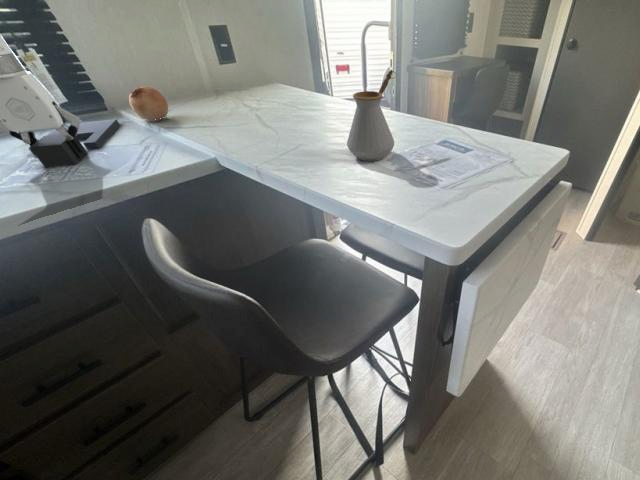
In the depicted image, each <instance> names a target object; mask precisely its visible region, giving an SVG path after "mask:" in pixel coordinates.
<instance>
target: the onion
mask: <svg viewBox="0 0 640 480" xmlns="http://www.w3.org/2000/svg"><path fill="white" fill-rule="evenodd" d="M128 102H129V106H130V107H131V109H132V111H133V112H134V113H135V115H137V116H138V117H140V118H141V119H143V120H145V119H146V120H145V121H148V122H150V123H156V122H160V121H162V120H164V119H165V118H166V117H167V116H168V111H169V104H168V102H167V100H166V97H165V96H164V95H163V94H162V93H161V92H160V91H159V90H157V89H156V88H154V87H151V86H146V85H145V86H137V87H135V88H134V89H133V90H132V91H131V92H130V93H129V97H128ZM163 117H164V118H163ZM160 118H161V119H160ZM155 119H156V120H155Z"/></svg>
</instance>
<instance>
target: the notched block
mask: <svg viewBox="0 0 640 480" xmlns="http://www.w3.org/2000/svg"><path fill="white" fill-rule="evenodd" d="M65 124H66V125H67V126H68V127H70V124H71V122H70V123H65ZM118 127H120V123H119V121H118V119H116V118H115V119H105V120H104V119H103V120H92V121H91V120H90V121H81V123H80V126H79V129H78V132H77V136H76V137H77V138H78V140H79V141H80V140H82V141H83V140H85V141H84V142H83V144H82V145H84V148H86V150H94V149H99V148H100V147H101V146H102V145H103V144H104V143H105V142H106V141H107V139H108V138H109V137H111V135H112V134H113V133H114V132H115V131H116V130H117V128H118ZM57 134H60V133H59V132H58V131H57V130H56V129H52V130H51V131H50V132H49V133H48V134H46V135H45V136H47V135H57ZM28 150H29V151H30V152H31V153H32V154H33V156H35V154H34V153H33V152H32V151H31V149H30V148H29V149H28Z"/></svg>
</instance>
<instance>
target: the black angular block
mask: <svg viewBox="0 0 640 480" xmlns="http://www.w3.org/2000/svg"><path fill="white" fill-rule="evenodd" d="M46 135H47V136H46ZM46 135H43V136H42V137H41V138H40V139H37V140H38V141H37V142H36V143H34V144H33V145H32V146H30V145H29V147H28V148H29V149H31V151H32V152H33V153H34V154H35V155H34V154H33V153H32V152H31V151H30V152H31V153H32V154H33V155H34V156H35V157H36V158H37V160H38V161H39V162H40V163H41V164H42V165H43V167H44V168H54V167H55V168H56V167H61V166H62V167H63V166H71V165H76V164H77V163H78V162H79V161H80V160H81V159H82V158H78V157H77V156H76V155H75V154H74V152H73V151H72V149H71V148H70V147H69V145H68V144H67V142H66V141H67V139H66V138H65V137H64V136H63V135H62V134H57V135H48V134H46ZM76 138H77V137H76ZM77 139H78V138H77ZM78 141H79V142H80V144H81V145H82V147H83V148H84V150H85V154H87V153H88V152H87V149H85V146H83V144H82V143H81V141H80V140H78Z"/></svg>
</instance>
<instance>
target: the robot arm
mask: <svg viewBox="0 0 640 480" xmlns="http://www.w3.org/2000/svg"><path fill="white" fill-rule="evenodd" d="M68 121H69V122H70V123H71V124H70V127H68V126H67V125H66V124H67V123H68ZM81 122H82V118H81V117H79V116H77V115H75V114H73V113H72V112H70V111H67V110H66V109H64V108H63V107H61V106H60V105H59V103H58V101H57V100H56V99H55V98H54V96H53V95H52V94H51V93H50V92H49V90H48V89H47V88H46V87H45V86H44V85H43V83H42V82H41V81H40V80H39V79H38V78H37V76H35V75H34V73H32V72H31V71H27V70H26V68H25V67H24V65H23V64H22V62H21V61H20V60H19V58H18V57H17V56H16V54H15V53H14V52H13V50H12V48H11V47H10V45H9V44H8V43H7V42H6V40H5V39H4V37H3V36H2V34H0V132H3V133H5V134H7V135H10V136H11V137H13V138H15V139H18V140H19V141H22V142H23V144H26V145H29V147H30V146H32V145H33V144H34V143H36V142H37V141H38V140H39V139H37V137H36V135H35V132H37V131H38V132H39V131H47V130H48V131H49V130H50V131H51V130H54V129H56V130H57V131H58V132H59V133H60V134H62V135H63V136H64V137H65V138H66V139H67V141H66V142H67V144H68V145H69V147H70V148H71V149H72V151H73V152H74V154H75V155H76V156H77V157H78V158H81V159H82V158H83V157H84V156H85V155H86V153H85V150H86V149H85V147H84V146H83V144H82V143H81V141H80V140H79V141H80V142H79V141H78V139H77V138H76V136H77V132H78V129H79V126H80V123H81ZM80 143H81V144H82V145H81V144H80ZM82 146H83V147H84V148H83V147H82ZM84 149H85V150H84Z"/></svg>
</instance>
